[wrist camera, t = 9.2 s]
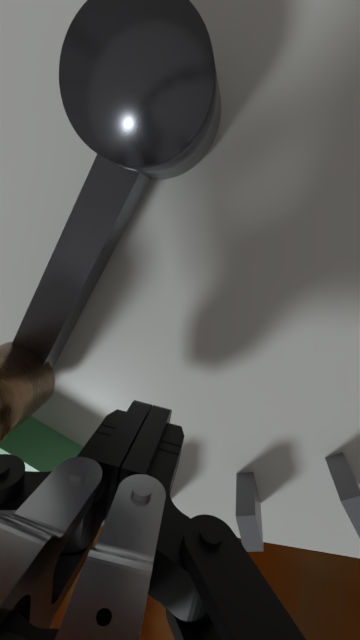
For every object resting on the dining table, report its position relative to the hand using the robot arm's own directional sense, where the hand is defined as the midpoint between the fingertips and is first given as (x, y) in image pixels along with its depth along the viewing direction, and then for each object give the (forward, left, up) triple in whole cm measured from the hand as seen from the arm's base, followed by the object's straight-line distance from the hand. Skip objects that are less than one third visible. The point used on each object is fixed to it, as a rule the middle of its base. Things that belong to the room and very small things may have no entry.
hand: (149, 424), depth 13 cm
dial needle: (-6, -3, -2) cm, 7 cm away
